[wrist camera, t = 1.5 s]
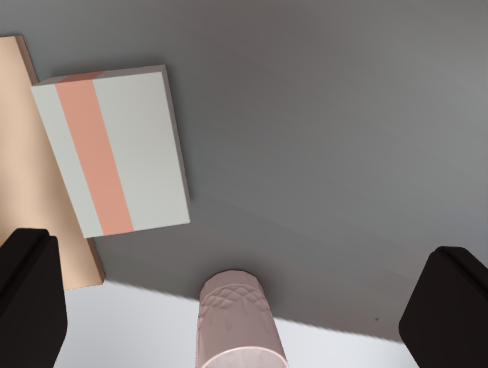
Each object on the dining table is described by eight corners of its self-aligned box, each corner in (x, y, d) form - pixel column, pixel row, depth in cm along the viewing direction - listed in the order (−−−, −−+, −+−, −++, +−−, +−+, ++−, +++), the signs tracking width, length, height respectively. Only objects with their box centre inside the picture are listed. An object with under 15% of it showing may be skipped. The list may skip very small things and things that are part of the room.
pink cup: (281, 284, 38) (308, 367, 29) (238, 330, 40) (251, 420, 31) (223, 252, 35) (233, 333, 26) (179, 303, 37) (175, 394, 29)
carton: (165, 63, 27) (161, 71, 23) (190, 199, 32) (190, 222, 29) (51, 76, 26) (29, 86, 23) (96, 213, 32) (84, 238, 28)
